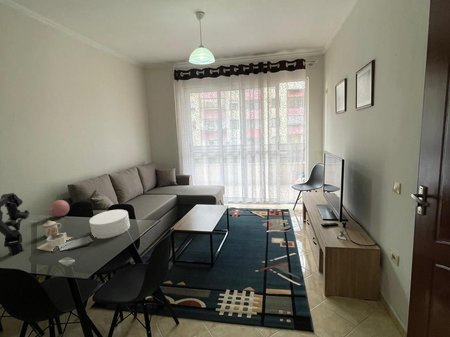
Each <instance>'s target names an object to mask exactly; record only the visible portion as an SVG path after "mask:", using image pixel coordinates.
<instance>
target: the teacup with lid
mask: <svg viewBox="0 0 450 337" xmlns="http://www.w3.org/2000/svg"><path fill="white" fill-rule="evenodd" d="M58 225H59V226H58ZM61 227H62V224H61V223H60V222H56V221H52V220H47V222H45V223H43V225H42V228H43V232H44V235H45V237H47V238H48V237H50V236H51V235H52V234H54V233H59V229H61Z"/></svg>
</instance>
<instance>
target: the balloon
mask: <svg viewBox="0 0 450 337" xmlns="http://www.w3.org/2000/svg"><path fill="white" fill-rule="evenodd" d="M69 211H70V204H69V203H68V202H67V201H66V200H63V199H59V200H55V201H53V202H52V203H51V204H50V207H49V208H48V209H47V210H46V211H45V213H49V214H50V213H51V215H53V216H54V217H56V218H57V217H58V218H59V217H60V218H61V217H63V216H66V215H67V214H68V213H69Z"/></svg>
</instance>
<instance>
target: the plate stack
mask: <svg viewBox="0 0 450 337" xmlns="http://www.w3.org/2000/svg"><path fill="white" fill-rule="evenodd" d="M130 222H131V221H130V218H129V212H128V211H127V210H126V209H125V210H124V209H112V210H106V211H103V212H100V213H98V214H95V215H94V216H92V217H91V218H89V222H88V223H89V226H90V230H91V235H93V236H94V237H93V236H92V237H93V238H95V237H97V238H96V239H109V238H112V237H116V236H119V235H122V234H123V233H125V232H126V231H128V230H129V229H130V228H131V224H130Z"/></svg>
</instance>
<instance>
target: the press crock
mask: <svg viewBox="0 0 450 337" xmlns="http://www.w3.org/2000/svg"><path fill="white" fill-rule="evenodd" d="M58 233H59V234H60V235H59V236H58V237H57V239H55V238H52V237H51V236H50V237H47V238H46V241H47V242H46V243H44V244H41V245H40V246H38V247H36V249H37V250H41V251H47V252H51V251H53V249H54V248H55V247H56V246H58V245H60V244H63V243H65V242H66V240H69V239H71V238H72V237H71V236H68V235H67V232H58Z"/></svg>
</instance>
